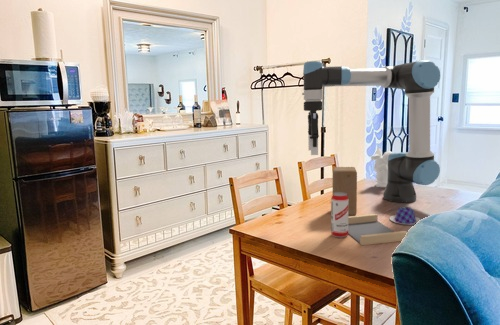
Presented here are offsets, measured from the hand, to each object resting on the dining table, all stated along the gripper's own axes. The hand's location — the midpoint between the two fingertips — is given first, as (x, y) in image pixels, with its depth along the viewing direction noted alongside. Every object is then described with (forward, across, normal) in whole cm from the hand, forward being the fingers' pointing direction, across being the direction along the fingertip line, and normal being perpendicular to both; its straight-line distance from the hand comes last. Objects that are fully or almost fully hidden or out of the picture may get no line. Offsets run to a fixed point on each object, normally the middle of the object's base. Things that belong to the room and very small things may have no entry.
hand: (313, 152), depth 153 cm
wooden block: (+29, -8, +14) cm, 33 cm away
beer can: (+29, +20, +8) cm, 36 cm away
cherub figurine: (+28, -55, +42) cm, 75 cm away
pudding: (+29, +4, +37) cm, 47 cm away
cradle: (+28, +17, +20) cm, 38 cm away
